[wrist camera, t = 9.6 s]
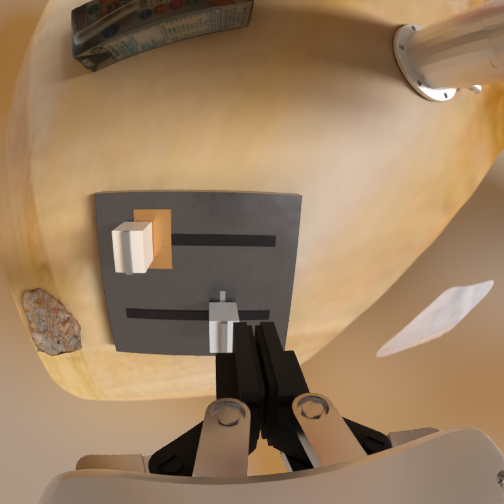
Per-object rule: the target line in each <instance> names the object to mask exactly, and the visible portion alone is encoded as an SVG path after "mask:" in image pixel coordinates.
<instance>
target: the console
mask: <svg viewBox="0 0 504 504" xmlns="http://www.w3.org/2000/svg"><path fill="white" fill-rule="evenodd" d="M95 196H96V219H97V233H98V245H99V255H100V263H101V271H102V279H103V285H104V292H105V298H106V304H107V309H108V315H109V320H110V325H111V329H112V334H113V338H114V343H115V347H116V351H119V352H131V353H145V354H163V355H195V356H216V353H210V338H209V302H236V304H237V310H238V316H239V322H247V325H252V329H253V334H254V332H255V325H260V322H271V321H273V322H274V324H275V327H276V330H277V333H278V336H279V339H280V342H281V345H282V348H283V351H284V350H285V343H286V336H287V329H288V322H289V314H290V307H291V299H292V290H293V282H294V273H295V264H296V255H297V246H298V236H299V225H300V214H301V202H302V196H301V195H299V194H293V193H276V192H256V191H228V190H130V191H103V192H99V193H96V194H95ZM124 222H152V241H153V261H152V262H151V264H150V266H149V267H148V269H147V271H146V273H133V274H132V275H126V273H122V272H116V271H115V261H114V251H113V239H112V230H114V229H115V228H117V227H118V226H119V225H121V224H122V223H124Z"/></svg>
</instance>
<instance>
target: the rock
mask: <svg viewBox="0 0 504 504" xmlns="http://www.w3.org/2000/svg"><path fill="white" fill-rule="evenodd" d="M23 308H24V311H25V313H26V316H27V319H28V320H29V324H30V329H31V331H32V339H33V342H34V343H35V346H36V348H37V350H38V352H39V351H41V352H45V353H47V354H48V355H50V356H54V355H59V354H63V353H70V352H73V351H76V350H79V349H81V348H82V345H81V337H80V330H81V328H80V325H79V323H78V322H77V320H75V318H74V317H73V316H72V315H71V314H69V313H68V312H67V311H66V309H65V307H64V306H63V305H61V304H60V303H58V302H57V301H56V300H55V299H54V298H52V297H51V296H49V295H48V294H47V293H46V292H44V291H43V290H41V289H37V290H36V291H33V292H31V291H26V292H25V293H24V299H23Z"/></svg>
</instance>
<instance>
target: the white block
mask: <svg viewBox="0 0 504 504" xmlns="http://www.w3.org/2000/svg"><path fill="white" fill-rule="evenodd" d="M233 322H239V316H238V310H237V304H236V302H209V338H210V353H232V344H233Z"/></svg>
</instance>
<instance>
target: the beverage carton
mask: <svg viewBox="0 0 504 504" xmlns="http://www.w3.org/2000/svg"><path fill="white" fill-rule="evenodd" d="M253 4H254V0H93V1H90V2H88V3H86V4H84V5H82V6H80V7H77V8H75V9H74V10H72V12H71V25H72V56H73V59H75V60H77V61H78V62H80V63H81V64H83V65H84V66H85V67H86V68H87V69H89V70H91V71H92V72H95V71H97V70H99V69H102V68H104V67H106V66H108V65H110V64H113V63H115V62H117V61H120V60H122V59H125V58H128V57H130V56H133V55H136V54H138V53H141V52H144V51H147V50H150V49H153V48H156V47H159V46H162V45H165V44H169V43H172V42H176V41H179V40H183V39H186V38H190V37H195V36H199V35H203V34H207V33H212V32H217V31H221V30H227V29H232V28H238V27H244V26H248V24H249V21H250V17H251V13H252V9H253Z"/></svg>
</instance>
